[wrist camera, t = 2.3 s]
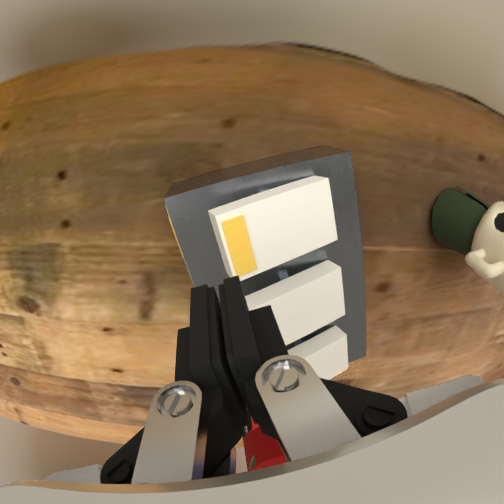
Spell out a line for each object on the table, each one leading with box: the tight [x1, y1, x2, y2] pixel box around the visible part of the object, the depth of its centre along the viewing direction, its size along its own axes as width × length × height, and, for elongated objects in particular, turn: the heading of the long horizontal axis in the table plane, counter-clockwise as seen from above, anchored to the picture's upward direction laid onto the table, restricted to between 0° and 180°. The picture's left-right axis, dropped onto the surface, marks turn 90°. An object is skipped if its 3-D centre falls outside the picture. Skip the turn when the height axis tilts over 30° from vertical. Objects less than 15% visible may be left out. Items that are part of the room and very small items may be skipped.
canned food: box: [243, 408, 287, 471], centre depth 29 cm, size 8×8×11 cm
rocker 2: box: [245, 260, 345, 346], centre depth 20 cm, size 7×4×2 cm, turn 103°
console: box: [164, 146, 366, 362], centre depth 24 cm, size 12×18×6 cm
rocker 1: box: [208, 175, 338, 281], centre depth 18 cm, size 7×4×2 cm, turn 103°
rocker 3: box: [287, 325, 348, 380], centre depth 23 cm, size 7×4×2 cm, turn 103°
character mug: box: [432, 187, 504, 294], centre depth 21 cm, size 11×7×13 cm, turn 100°
